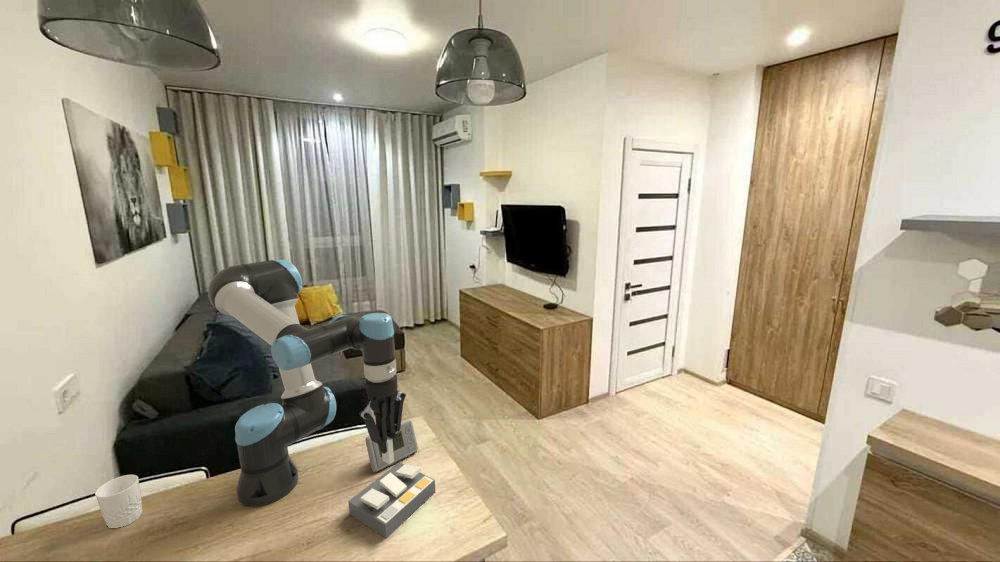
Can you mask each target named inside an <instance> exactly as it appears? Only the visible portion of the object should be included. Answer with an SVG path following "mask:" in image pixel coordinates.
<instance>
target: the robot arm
mask: <svg viewBox="0 0 1000 562" xmlns="http://www.w3.org/2000/svg"><path fill="white" fill-rule="evenodd" d="M302 291H303V279H302V277H301V273H300V272H299V269H297V267H296V265H294V264H293V263H292V262H291V261H289V260H286V259H270V260H264V261H257V262H251V263H244V264H236V265H235V264H234V265H230V266H227V267H225V268H223V269H221V270H220V271H218V272H217V273H216V274H215V275H214V276H213V277H212V279H211V281H210V282H209V285H208V288H207V296H208V300H209V302H210V304H211V305H212V307H213V308H215V309H216V310H217V311H218V312H220V313H221V314H223V315H225V316H231V317H233V318H235V320H237V321H239V322H240V323H241V324H242V325H244V326H245V327H246V328H247V329H249V330H250V331H251V332H253V333H254V334H255V335H256V336H258V337H259V338H261V339H262V340H263V341H264V342H266V343H267V344H269V345H270V346H271V348H270V350H271V351H270V352H271V357H272V359H273V361H274V362H275V364H276V366H277V367H278V370H279V373H280V377H281V381H282V384H283V387H284V391H283V393H282V395H281V396H280V398H281V402H282V404H279V403H277V402H268V403H266V404H264V403H263V404H260V405H257V406H255V407H252V408H251V409H249V410H247V411H246V412H244V413H243V414H242V415H241V416H240V417H239V419H237V421H236V424H235V427H234V432H235V437H234V440H235V444H236V448H237V453H238V454H237V455H238V459H239V465H240V470H241V471H240V473H239V474H240V475H239V479H238V484H237V487H236V494H237V500H238V502H239V503H240V504H241V505H243V506H246V507H261V506H266V505H269V504H272V503H274V502H276V501H278V500H280V499H282V498H283V497H285V496H287V495H288V494H290V492H291V491H292V490H294V488H295V487H296V485H297V483H298V481H299V472H298V468H297V466H296V465H295V463H294V461H293V460H292V457H291V456H290V454H289V449H288V446H290V445H292V444H294V443H296V442H298V441H299V440H302V439H303V438H306V437H308V436H309V435H311V434H313V433H315V432H316V431H319V430H322V429H323V428H324V427H326V426H327V425H329V424H331V423H332V422H333V420H334V419H335V417H336V414H337V413H336V412H337V401H336V398H335V394H334V393H333V392H332V390H331V389H330V388H329V387H328V386H323V382H321V381H319V380H317V379H316V377H315V374H314V371H313V366H312V363H314V362H317V361H320V360H322V359H325V358H328V357H330V356H333V355H336V354H338V353H342V352H343V351H346V350H349V349H354V350H357V351H361V353H362V361H363V373H364V378H365V380H364V383H365V391H366V393H365V394H366V395H367V401H366V407H365V408H364V410H360V411H359V413H358V415H359V417H360V418H361V419H363V421H364V424H365V427H366V430H367V433H368V436H370V438H371V441H373V442H375V443H377V444H379V451H380V452H381V453H382V459H383V461H384V462H386V463H388V464H391V463H392V462H394V453H393V447H394V446H395V441H394V438H396V437H397V434H395V433H396V432H398V431H400V428H401V421H402V417H403V409H404V402H405V399H406V397H407V395H406V393H404V392H401V391H399V390H398V387H399V385H398V375H397V360H396V347H395V330H394V324H393V319H392V316H391V315H390V314H388V313H386V312H372V313H367V314H365V315H363V316H361V317H357V316H353V315H346V314H345V315H343V314H341V315H337V316H334V317H333V318H332V319H331V320H329V322H328V323H325V324H323V325H319V326H316V327H312V328H307V327H306V326H303V325H302V324H300V319H299V317H298V313H297V309H296V307H295V306H296V304H297V303H298V301H299V297H298V295H299V294H300V293H301V292H302ZM373 415H374V417H373Z"/></svg>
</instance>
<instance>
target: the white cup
mask: <svg viewBox="0 0 1000 562" xmlns="http://www.w3.org/2000/svg"><path fill="white" fill-rule="evenodd" d="M94 494H95V498H96V501H97V504H98V508H99V510H100V512H101V515H102V517H103V519H104V521H105V522H104V523H105V525H106V527H107V526H108V527H109V528H117V529H119V528H118V527H121V528H124V527H126V526H129V525H130V524H132V523H134V522H135V521H137V519H139V518H140V517H141V516H142V514H143V511H144V509H143V505H142V494H141V487H140V481H139V476H138V475H136V474H126V475H121V476H117V477H116V478H113V479H110V480H109V481H107V482H105V483H103V484H102V485H100V486H99V487H98V488H97V489H96V490H95V492H94ZM123 526H124V527H123ZM108 527H107V528H108ZM109 528H108V529H109Z"/></svg>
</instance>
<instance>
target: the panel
mask: <svg viewBox="0 0 1000 562" xmlns="http://www.w3.org/2000/svg"><path fill="white" fill-rule="evenodd" d="M404 465H405V464H404V463H403V462H400V461H398V462H397V463H395V465H394V466H392V467H391V468H390V469H388V471H386V472H385V473H383V474H382V475H380V476H379V477H378V478H376V479H375V480H374V481H372V482H371V483H370V484H369V485H367V486H366V487H365V488H363V489H362V490H361V491H360V492H358V493H357V494H355V495H354V496H353V497H352V498H350V499H349V500H348V501H347V502H348V511H349V515H350V516H351V517H353V518H355V519H356V520H357V521H359V522H361V523H362V524H364V525H365V526H366V527H368V528H370V529H371V530H373V531H374V532H375V533H377V534H378V535H380V536H382V537H383V538H385V539H388V538H389V537H390V536H391V535H392V534H393V533H394V532H395V531H397V529H398V528H399V527H400V526H401V525H403V524H404V522H406V521H407V520H408V518H410V517H411V516H412V515H413V514H414V513H415V512H416V511H417V510H418V509H419V508H420V507H421V506H422V505H424V504H425V503H426V502H427V501H428V499H430V498H431V497H432V496H433V495H434V494H435V493H436V479H434V478H432V477H429V476H428V475H426V474H424V473H422V472H419V473H418V474H417V475H416V476H415V477H413V478H412V479H411V478H405V479H404V478H403V477H402V476H398V475H396V471H397V470H398V469H400V468H401V467H402V466H404ZM390 472H391V473H392V474H393V475H394V476H396V477H397V478H398V479H399V480H400V481H402V482H403V483H404V484H405V485H406V486H407V489H405V490H404V491H403V492H402V493H401V494H400V495H398V496H397V497H395V496H393V495H392V494H391V493H390V492H387V491H386V489H385V488H384V487H383V486H382V485H381V484H379V483H380V480H381V479H383V478H384V477H385V476H386V475H388V474H389V473H390ZM372 488H373V489H375V490H377V491H379V492H381V493H383V494H385V495H387V496H389V501H387V502H386V503H385V504H384V505H383V506H381V507H380V508H379V509H378V510H377V509H375V508H374V507H372V506H371V507H369V506H368V504H366V503H364V502H362V501H361V497H362V496H363V495H365V494H366V493H367V492H368V491H370V490H371V489H372Z"/></svg>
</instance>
